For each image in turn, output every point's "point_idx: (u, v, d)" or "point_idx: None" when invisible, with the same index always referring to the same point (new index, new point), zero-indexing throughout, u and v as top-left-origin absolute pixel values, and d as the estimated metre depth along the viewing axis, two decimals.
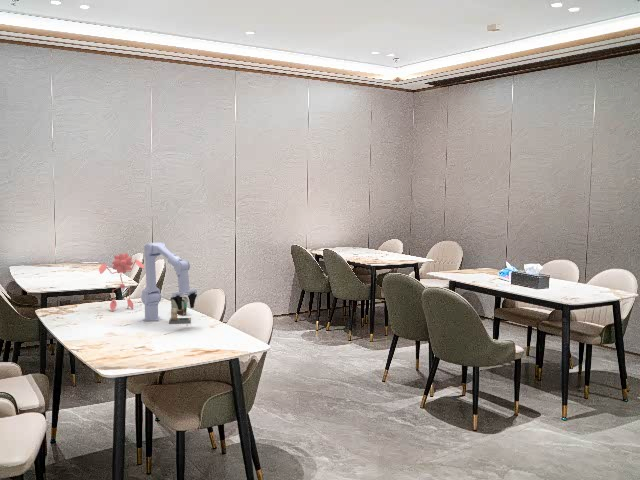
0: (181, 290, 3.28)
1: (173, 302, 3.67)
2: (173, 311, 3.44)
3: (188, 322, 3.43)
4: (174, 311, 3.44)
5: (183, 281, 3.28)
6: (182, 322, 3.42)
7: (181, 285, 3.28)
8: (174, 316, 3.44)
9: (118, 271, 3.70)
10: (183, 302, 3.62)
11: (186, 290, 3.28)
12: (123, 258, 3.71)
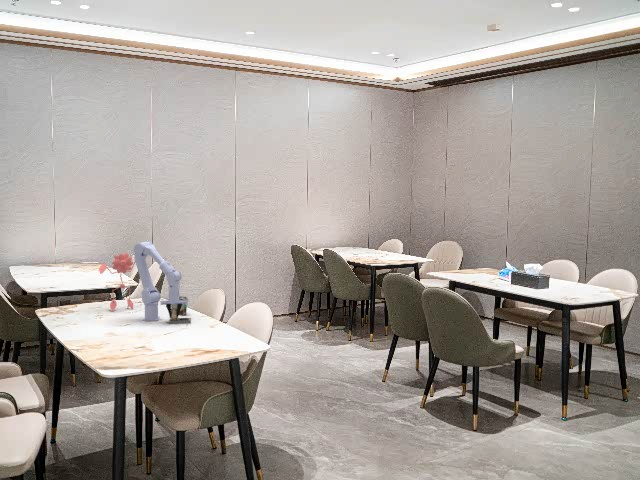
0: (169, 299, 3.43)
1: None
2: (173, 311, 3.44)
3: (188, 322, 3.43)
4: (174, 311, 3.44)
5: (175, 292, 3.42)
6: (182, 322, 3.42)
7: (169, 295, 3.43)
8: (174, 316, 3.44)
9: (118, 271, 3.70)
10: None
11: (172, 300, 3.42)
12: (123, 258, 3.71)
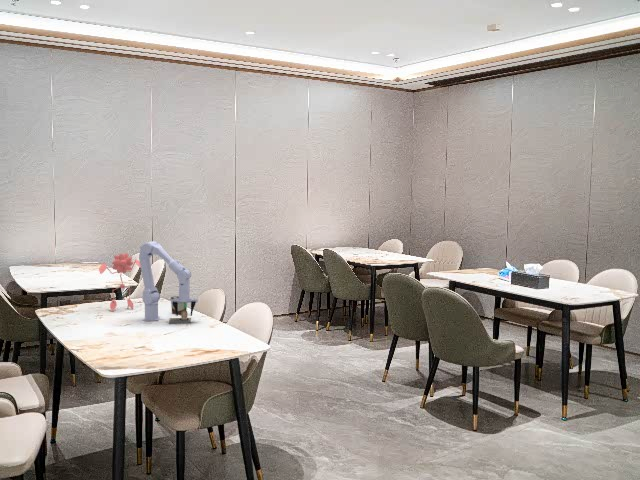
0: (179, 297, 3.44)
1: None
2: (183, 314, 3.45)
3: (188, 322, 3.43)
4: (184, 314, 3.45)
5: (186, 290, 3.43)
6: (182, 322, 3.42)
7: (179, 293, 3.43)
8: (184, 319, 3.45)
9: (118, 271, 3.70)
10: None
11: (182, 299, 3.43)
12: (123, 258, 3.71)
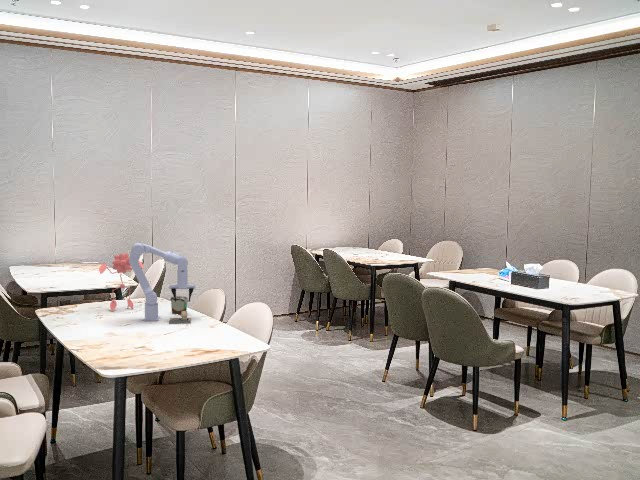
0: (177, 284, 3.53)
1: (173, 302, 3.67)
2: (183, 314, 3.45)
3: (188, 322, 3.43)
4: (184, 314, 3.45)
5: (186, 276, 3.53)
6: (182, 322, 3.42)
7: (177, 279, 3.52)
8: (184, 319, 3.45)
9: (118, 271, 3.70)
10: (183, 302, 3.62)
11: (181, 285, 3.52)
12: (123, 258, 3.71)
